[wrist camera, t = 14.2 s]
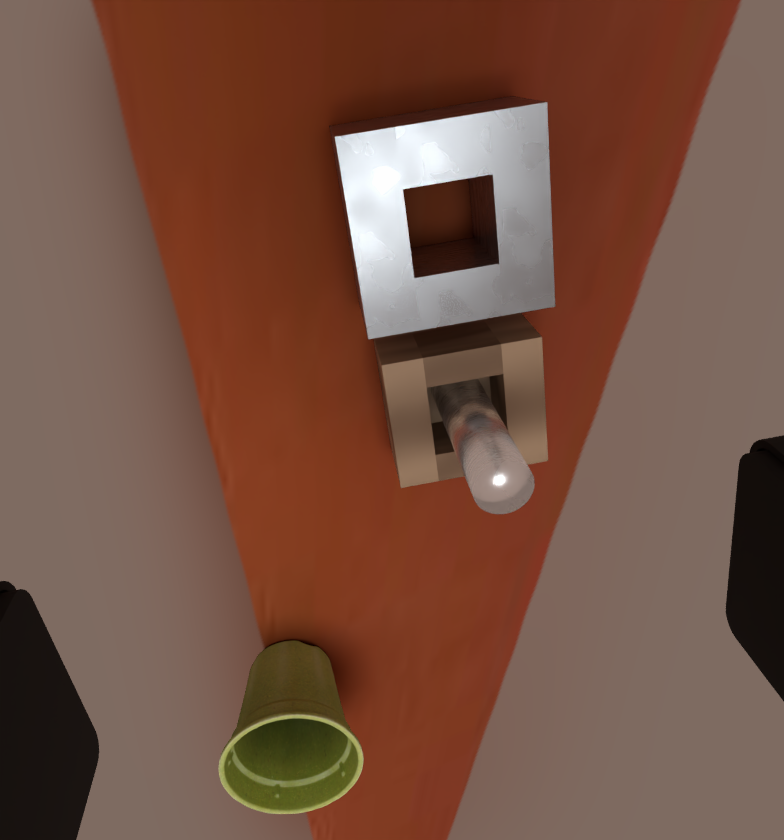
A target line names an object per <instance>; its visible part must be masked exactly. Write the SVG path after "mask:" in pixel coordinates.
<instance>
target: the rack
mask: <svg viewBox="0 0 784 840" xmlns="http://www.w3.org/2000/svg"><path fill="white" fill-rule="evenodd" d="M373 339H374V345H375V351H376V357H377V363H378V370H379V376H380V382H381V388H382V394H383V400H384V407H385V413H386V419H387V425H388V431H389V437H390V443H391V449H392V453H393V457H394V461H395V465H396V469H397V474H398V478H399V482H400V486H401V488H403V487H409V486H414V485H419V484H425V483H430V482H436V481H441V480H447V479H452V478H457V477H463V476H465V475H464V473H463V470H462V468H461V465H460V463H459V460H458V458H457V455H456V453H455V450H454V448H453V446H452V443H451V441H450V438H449V436H448V433H447V431H446V428H445V426H444V423H443V421H442V418H441V416H440V414H439V411H438V409H437V406H436V404H435V401H434V399H433V396H432V394H431V387H433V386H439V385H444V384H450V383H456V382H461V381H467V380H472V379H479V381H480V383H481V385H482V386H483V388H484V390H485V392H486V393H487V395H488V397H489V399H490V400H491V402H492V404H493V406H494V407H495V409H496V411H497V413H498V414H499V416H500V418H501V420H502V421H503V423H504V425H505V427H506V429H507V430H508V432H509V434H510V436H511V437H512V439H513V441H514V443H515V444H516V446H517V448H518V450H519V451H520V453H521V455H522V457H523V458H524V460H525V462H526V464H527V465H528V464H533V463H538V462H544V461H548V451H547V431H546V410H545V390H544V369H543V349H542V337H541V335H540V334H539V333H538V332H537V331H536V330H535V329H534V327H533V326H532V325H531V324H530V323H529V322H528V321H527V320H526V318H525V317H524V316H523V315H522V314H521V313H516V314H510V315H504V316H498V317H493V318H487V319H481V320H476V321H470V322H464V323H459V324H453V325H447V326H442V327H436V328H430V329H424V330H419V331H413V332H407V333H402V334H396V335H390V336H385V337H379V338H373Z"/></svg>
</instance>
